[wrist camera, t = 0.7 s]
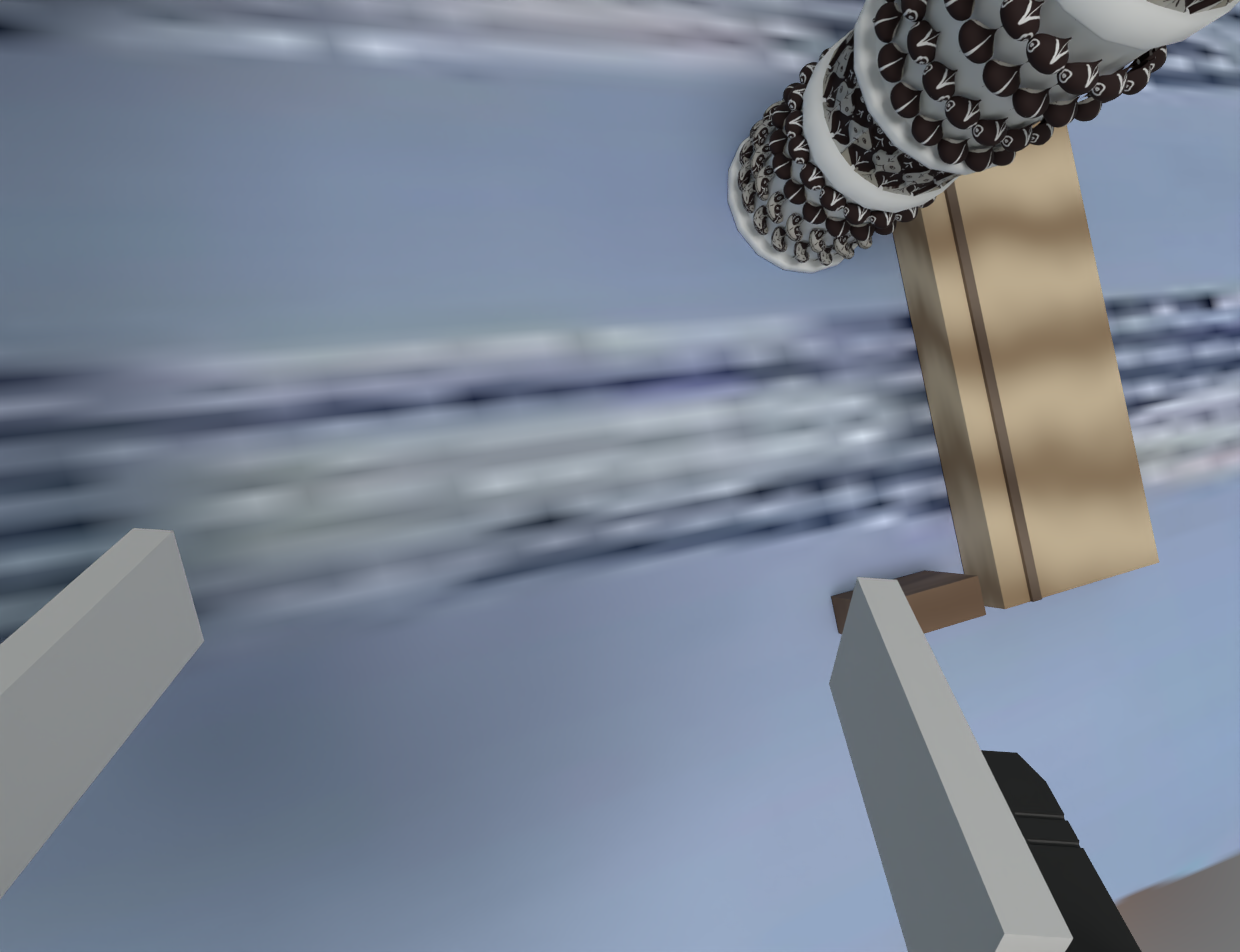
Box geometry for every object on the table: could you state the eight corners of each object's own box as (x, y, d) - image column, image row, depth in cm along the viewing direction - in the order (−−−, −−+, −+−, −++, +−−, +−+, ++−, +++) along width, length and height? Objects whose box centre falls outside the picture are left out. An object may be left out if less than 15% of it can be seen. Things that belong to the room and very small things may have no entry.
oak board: (868, 118, 41) (898, 91, 39) (1023, 107, 44) (1060, 81, 42) (970, 604, 41) (1008, 609, 39) (1119, 560, 44) (1162, 562, 42)
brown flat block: (831, 596, 39) (876, 604, 35) (924, 570, 41) (977, 575, 37) (838, 633, 39) (884, 645, 35) (932, 606, 41) (986, 614, 37)
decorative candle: (778, 80, 40) (1317, -585, 16) (899, 192, 42) (1554, -258, 18) (687, 201, 38) (1144, -347, 14) (817, 313, 40) (1427, -6, 16)
